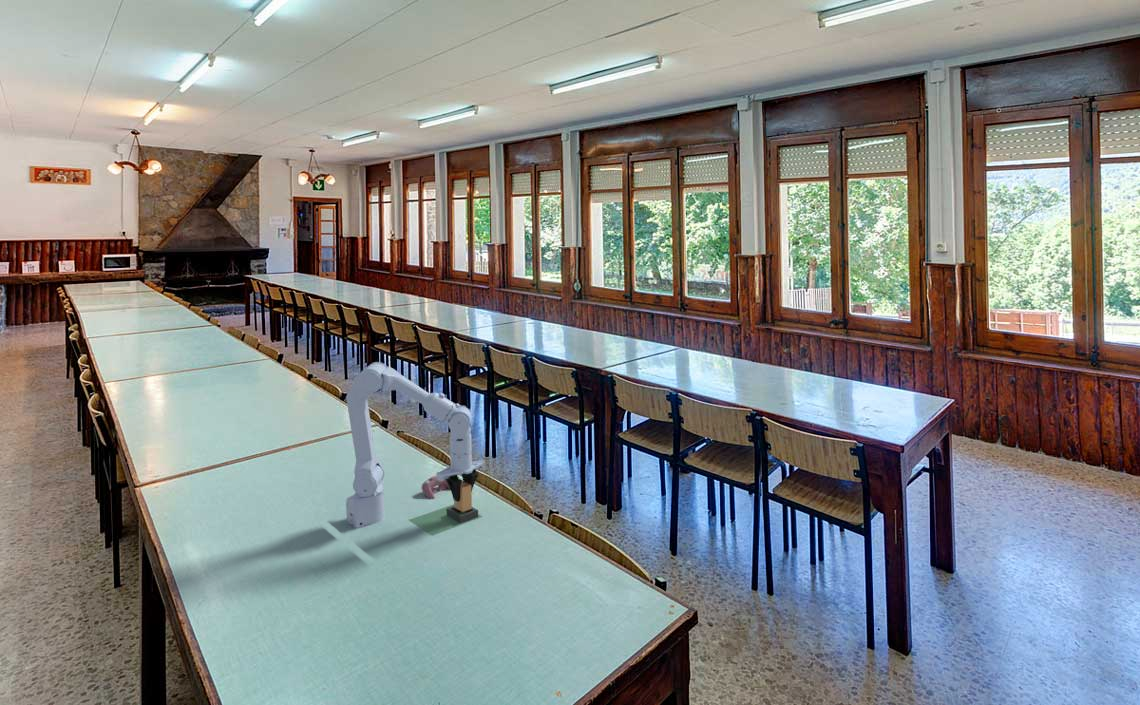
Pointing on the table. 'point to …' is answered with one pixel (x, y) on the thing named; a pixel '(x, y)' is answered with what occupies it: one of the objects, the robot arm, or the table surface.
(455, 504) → the plug
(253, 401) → the table surface
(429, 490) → the video game controller
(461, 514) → the board
